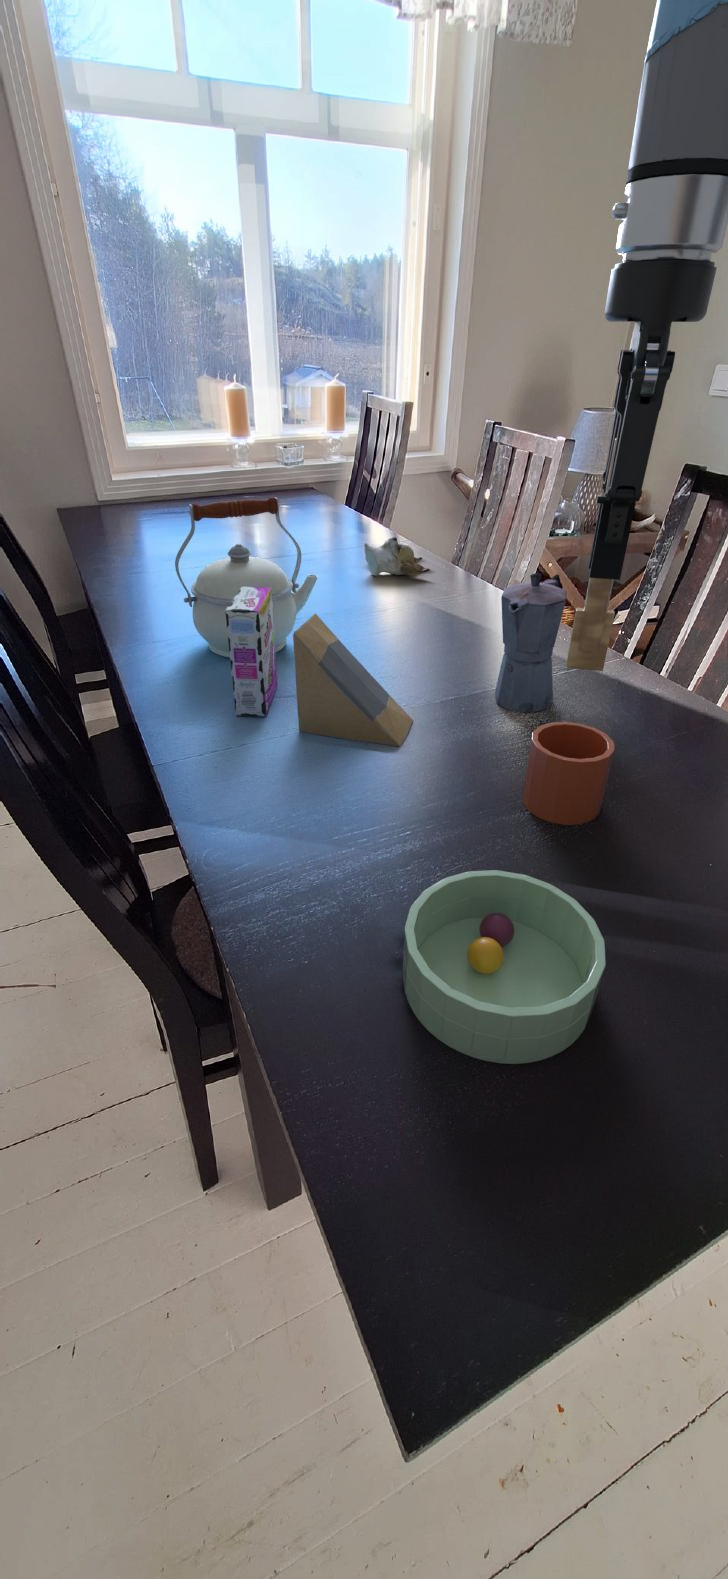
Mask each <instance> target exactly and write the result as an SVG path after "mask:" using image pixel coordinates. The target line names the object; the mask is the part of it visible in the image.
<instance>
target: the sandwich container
mask: <svg viewBox="0 0 728 1579" xmlns="http://www.w3.org/2000/svg"><path fill="white" fill-rule="evenodd" d="M292 640H293V641H292V642H293V643H292V644H293V654H294V655H293V657H294V658H293V659H294V672H295V674H294V675H295V687H296V691H295V692H296V705H297V706H296V707H297V719H298V720H297V721H298V731H299V732H301V733H308V734H313V735H318V736H325V737H330V738H337V739H343V740H350V741H357V742H358V741H359V742H366V743H372V744H380V745H385V746H392V747H401V746H402V744H403V743H404V741H405V739H406V737H407V736H408V734H409V732H410V729H411V727H412V724H413V722H414V719H413V718H412V717H411V716H410V714H408V713H407V712H406V710H404V709H403V707H402V706H401V705H400V704H399V703H398V702H397V700H395V699H394V698H393V697H392V696H391V695H390V694H389V692H387V691H386V689H385V688H384V687H383V686H382V685H381V684H380V683H379V682H378V681H377V680H376V679H375V677H374V676H373V675H371V673H370V672H369V671H368V669H366V668H365V666H363V664H362V663H361V662H360V661H359V660H358V659H357V658H356V657H355V656H354V655H353V653H352V652H350V650H349V649H348V648H347V647H346V646H345V645H344V643H343V642H342V641H341V640H340V639H339V638H338V637H337V635H336V634H334V633H333V631H332V630H331V629H330V628H329V627H328V625H327V624H326V623H325V622H324V620H322V619H321V617H320V616H319V615H318V614H317V613H316V612H315V613H313V615H312V616H310V618H308V619H307V620H306V621H305V622H304V623H303V624H302V625H300V626H299V627H298V628H297V629H296V630H295V631H294V632H293V634H292Z"/></svg>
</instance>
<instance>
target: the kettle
mask: <svg viewBox="0 0 728 1579" xmlns="http://www.w3.org/2000/svg"><path fill="white" fill-rule="evenodd" d="M188 507H189V510H188V515H189V516H190V523H191V524H190V525H191V527H190V531H189V533H188V535H187V537H186V538H185V539H184V541H183V543H182V544H181V546H180V548H179V549H178V552H177V554H176V556H175V560H174V567H175V573H176V575H177V577H178V580H179V581H180V584H181V586H183V588H184V590H185V592H186V594H187V597H184V598H183V602H184V603H185V604H186V603H188V606H189V607H190V608H192V622H193V625H194V628H195V630H196V631H197V633H198V634H199V636H200V637H201V638H202V639H203V640H205V641H206V642H207V644H208V649H209V650H210V651H211V652H213V653H214V654H215V655H218V656H220V657H225V658H229V659H230V653H229V643H228V633H227V622H226V614H225V610H226V609H227V607H228V606H229V604H230V603H231V601H232V600H233V599H234V597H235V596H236V594H237V593H238V591H239V590H240V588H241V587H268V588H272V603H273V618H274V637H275V654H276V653H278V652H279V651H281V650H282V649H284V647H285V646H286V644H287V638H288V636H289V635H290V634H291V632H292V631H293V629H294V627H295V624H296V619H297V615H298V614H299V613H300V612H301V610H302V609H303V608H304V607H305V605H306V603H307V601H308V600H309V597H310V596H311V594H312V591H313V589H314V588H315V586H316V582H317V580H318V578H319V576H318V575H315V574H307V576H306V577H305V579H304V581H303V582H302V583H301V585H300V584H299V583H298V582H296V581H297V578H298V575H299V572H300V569H301V564H302V550H301V546H300V544H299V543H298V541H297V540H296V539H295V538H294V537H293V535H291V533H290V532H289V531H288V530H287V529H286V527H285V526H284V525H283V524H282V521H281V517H280V509H279V508H280V502H279V498H278V497H276V496H269V497H268V498H267V499H257V498H256V499H253V498H249V499H248V498H247V499H242V500H240V499H237V500H235V499H234V500H228V501H215V502H210V503H206V504H201V505H200V504H198V503H197V502H195V503H192V504H191V503H190V504H189V506H188ZM265 513H269V514H271V515H275V516H274V517H275V520H276V523H277V524H278V525H279V527H280V528H281V529H282V531H284V533H285V534H286V535H287V536H288V537H289V538H290V539H291V541H292V543H293V544H294V545H295V548H296V554H297V555H296V563H295V567H294V570H293V573H292V576H291V578H289V577H287V575H286V573H285V571H284V570H283V569H282V568H281V567H280V566H279V565H278V564H276V563H274V562H273V561H270V560H268V559H266V558H262V557H257V556H251V555H252V551H251V550H249V548H248V547H246V546H245V545H242V544H241V543H236V544H235V545H234V546H232V547H230V549H229V550H228V552H227V556H228V557H224V558H221V559H217V560H215V561H213V562H211V563H209V564H208V565H206V566H205V567H203V568H202V570H200V572H199V574H198V575H197V577H196V581H194V583H193V584H192V585H191V586H190V591H189V590H188V588H187V586H186V585H185V582H184V581H183V579H182V577H181V573H180V568H179V563H180V559H181V557H182V554H183V553H184V551H185V550H186V548H187V547H188V545H189V543H190V541H191V539H192V538H193V536H194V535H195V530H196V522H200V521H201V520H203V519H227V518H238V517H239V518H242V517H252V516H258V515H261V514H265ZM190 592H191V593H190ZM191 594H192V595H193V596H192V595H191Z"/></svg>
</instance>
